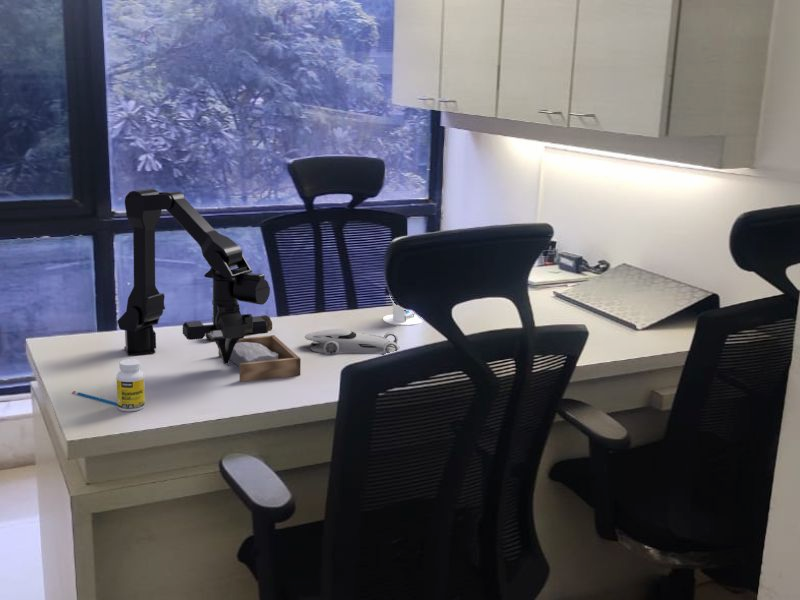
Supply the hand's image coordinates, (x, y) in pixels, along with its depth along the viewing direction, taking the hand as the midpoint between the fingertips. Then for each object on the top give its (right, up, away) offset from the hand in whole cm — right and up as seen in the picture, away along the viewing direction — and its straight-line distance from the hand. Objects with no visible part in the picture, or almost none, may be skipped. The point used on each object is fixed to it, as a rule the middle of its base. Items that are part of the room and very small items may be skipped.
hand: (225, 363), depth 209 cm
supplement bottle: (-14, -7, -26) cm, 30 cm away
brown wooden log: (-2, +5, +28) cm, 28 cm away
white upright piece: (+41, +9, +47) cm, 63 cm away
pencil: (-21, -7, -23) cm, 32 cm away
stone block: (+6, -1, +6) cm, 9 cm away
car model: (+28, +2, +20) cm, 35 cm away
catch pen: (+7, -1, +3) cm, 8 cm away
